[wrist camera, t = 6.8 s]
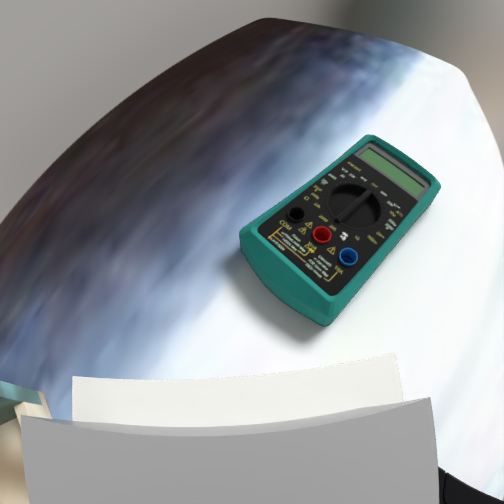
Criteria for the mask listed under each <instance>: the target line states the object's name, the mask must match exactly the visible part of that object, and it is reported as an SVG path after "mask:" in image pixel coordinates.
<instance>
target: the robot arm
mask: <svg viewBox="0 0 504 504" xmlns="http://www.w3.org/2000/svg"><path fill="white" fill-rule="evenodd" d="M438 478H439V504H504V501H502V500H499V499H497V498H494V497H492V496H490V495H487V494H485V493H483V492H481V491H479V490H477V489H475V488H473V487H471V486H469V485H467V484H465V483H464V482H462V481H460V480H459V479H457V478H455V477H454V476H452V475H451V474H449V473H445V471H444V470H443V469H441V468H440V467H438Z"/></svg>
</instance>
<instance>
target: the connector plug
mask: <svg viewBox="0 0 504 504" xmlns="http://www.w3.org/2000/svg"><path fill="white" fill-rule="evenodd" d="M72 412H73V421H67V420H57V419H48V418H40V417H33V416H26V415H21V439H22V453H23V463H24V472H25V479H26V486H27V492H28V498H29V504H439V478H438V460H437V448H436V437H435V428H434V420H433V412H432V405H431V399H430V397H428V398H423V399H417V400H412V401H406V402H404V400H403V393H402V387H401V381H400V376H399V370H398V365H397V360H396V355H395V353H391V354H387V355H383V356H378V357H373V358H368V359H363V360H358V361H353V362H348V363H342V364H337V365H331V366H325V367H318V368H312V369H305V370H297V371H290V372H282V373H273V374H263V375H253V376H241V377H228V378H211V379H186V380H130V379H106V378H90V377H77V376H73V386H72Z"/></svg>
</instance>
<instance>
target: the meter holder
mask: <svg viewBox="0 0 504 504" xmlns="http://www.w3.org/2000/svg"><path fill="white" fill-rule="evenodd" d="M21 415H26V416H33V417H40V418H48V419H52V416H51V413H50V411H49V408H48V405H47V402H46V399H45V396H44V393H43V392H40V391H36V390H32V389H28V388H24V387H20V386H17V385H13V384H10V383H6V382H3V381H0V504H29V498H28V492H27V486H26V479H25V472H24V463H23V453H22V439H21Z"/></svg>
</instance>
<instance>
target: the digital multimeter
mask: <svg viewBox="0 0 504 504" xmlns="http://www.w3.org/2000/svg"><path fill="white" fill-rule="evenodd" d="M355 182H356V183H355ZM366 186H367V187H366ZM440 188H441V185H440V183H439V182H438V181H437V179H436V178H435V177H434V176H433V175H432V174H430V173H429V172H428V171H427V170H426V169H424V168H423V167H422V166H421V165H419V164H418V163H417V162H415V161H414V160H413V159H411V158H410V157H408V156H407V155H406V154H404V153H403V152H401V151H400V150H398V149H397V148H395V147H394V146H392V145H390V144H389V143H387V142H385V141H384V140H382V139H380V138H379V137H377V136H375V135H365V136H364V137H363V138H362V139H360V140H359V141H358V142H357V143H356V144H355V145H353V146H352V147H351V148H350V149H349V150H348V151H346V152H345V153H344V154H343V155H342V156H341V157H339V158H338V159H337V160H336V161H334V162H333V163H332V164H330V165H329V166H328V167H327V168H325V169H324V170H323V171H322V172H320V173H319V174H318V175H316V176H315V177H314V178H313V179H311V180H310V181H309V182H307V183H306V184H304V185H303V186H302V187H300V188H299V189H297V190H296V191H295V192H293V193H292V194H290V195H289V196H288V197H286V198H285V199H283V200H282V201H281V202H279V203H278V204H277V205H275V206H274V207H272V208H271V209H269V210H268V211H266V212H265V213H263V214H262V215H261V216H259V217H258V218H256V219H255V220H253V221H252V222H250V223H249V224H248V225H246V226H245V227H243V228H242V229H241V230H240V232H239V238H240V246H241V251H242V252H243V254H244V256H245V257H246V259H247V261H248V262H249V264H250V265H251V267H252V269H253V270H254V271H255V273H256V274H257V275H258V277H259V278H260V279H261V281H262V282H263V283H264V285H265V286H266V287H267V288H268V289H269V290H270V291H271V292H273V293H274V294H275V295H276V296H277V297H278V298H279V299H280V300H281V301H283V302H284V303H285V304H287V305H288V306H290V307H291V308H293V309H294V310H296V311H297V312H299V313H300V314H302V315H304V316H305V317H307V318H309V319H311V320H313V321H314V322H316V323H318V324H320V325H321V326H328V325H329V324H331V323H332V322H333V321H334V319H335V318H336V317H337V316H338V315H339V314H340V312H341V311H342V310H343V309H344V308H345V306H346V305H347V304H348V303H349V302H350V300H351V299H352V298H353V297H354V295H355V294H356V293H357V292H358V290H359V289H360V288H361V287H362V286H363V284H364V283H365V282H366V281H367V280H368V278H369V277H370V276H371V275H372V274H373V272H374V271H375V270H376V269H377V267H378V266H379V265H380V264H381V262H382V261H383V260H384V258H385V257H386V256H387V255H388V254H389V252H390V251H391V250H392V249H393V248H394V247H395V245H396V244H397V243H398V242H399V241H400V239H401V238H402V237H403V236H404V235H405V233H406V232H407V231H408V230H409V228H410V227H411V226H412V225H413V224H414V223H415V222H416V220H417V219H418V218H419V217H420V216H421V215H422V213H423V212H424V211H425V210H426V209H427V208H428V206H429V205H430V204H431V203H432V202H433V200H434V198H435V197H436V195H437V193H438V192H439V190H440ZM328 190H329V191H328ZM377 195H378V196H377ZM325 197H326V198H325ZM325 203H326V204H325ZM375 226H376V227H375ZM370 258H371V259H370ZM362 267H363V268H362ZM352 278H353V279H352ZM351 279H352V280H351Z"/></svg>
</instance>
